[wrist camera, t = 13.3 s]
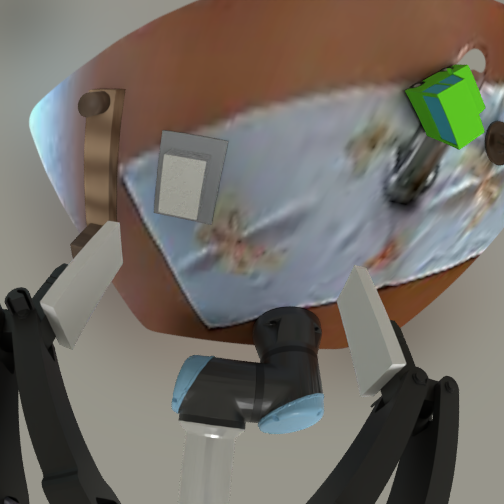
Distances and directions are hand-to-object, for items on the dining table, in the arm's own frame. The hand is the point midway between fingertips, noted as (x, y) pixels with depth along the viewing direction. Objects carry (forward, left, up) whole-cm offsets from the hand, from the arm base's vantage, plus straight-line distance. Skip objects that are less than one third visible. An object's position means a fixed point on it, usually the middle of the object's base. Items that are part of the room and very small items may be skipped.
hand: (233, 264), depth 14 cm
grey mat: (-6, +9, -28) cm, 30 cm away
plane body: (-6, +24, -28) cm, 37 cm away
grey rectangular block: (-6, +9, -27) cm, 29 cm away
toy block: (+20, -26, -28) cm, 43 cm away
